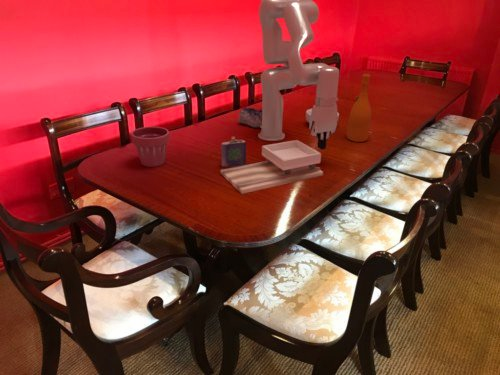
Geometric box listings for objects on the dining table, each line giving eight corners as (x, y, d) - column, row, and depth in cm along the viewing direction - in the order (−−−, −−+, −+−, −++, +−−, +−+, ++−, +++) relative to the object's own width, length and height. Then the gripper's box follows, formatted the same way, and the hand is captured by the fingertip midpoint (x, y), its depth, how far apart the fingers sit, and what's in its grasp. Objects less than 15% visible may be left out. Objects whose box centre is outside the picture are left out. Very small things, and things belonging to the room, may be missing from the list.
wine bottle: (364, 135, 185) (374, 71, 172) (370, 142, 177) (381, 76, 163) (344, 135, 185) (352, 71, 171) (349, 142, 176) (358, 76, 163)
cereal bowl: (337, 132, 190) (339, 118, 186) (303, 129, 193) (304, 115, 189) (337, 122, 204) (339, 109, 201) (306, 119, 207) (307, 106, 204)
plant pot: (178, 160, 156) (176, 130, 150) (154, 172, 145) (150, 140, 139) (152, 153, 162) (149, 124, 156) (127, 164, 151) (122, 133, 146)
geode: (279, 126, 198) (279, 107, 192) (267, 134, 190) (266, 116, 184) (247, 117, 208) (246, 99, 202) (234, 125, 200) (233, 107, 194)
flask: (222, 167, 150) (222, 139, 145) (220, 164, 152) (220, 137, 147) (246, 164, 153) (247, 137, 147) (244, 161, 155) (244, 134, 150)
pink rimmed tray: (261, 160, 150) (262, 146, 147) (296, 154, 156) (297, 139, 154) (283, 176, 137) (284, 160, 134) (319, 168, 144) (321, 153, 141)
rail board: (220, 173, 145) (220, 168, 144) (296, 158, 159) (296, 153, 158) (241, 193, 131) (241, 187, 130) (322, 175, 145) (323, 169, 144)
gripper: (335, 97, 148) (330, 142, 156) (303, 101, 142) (300, 148, 150) (348, 101, 142) (342, 148, 150) (315, 106, 136) (311, 154, 144)
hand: (321, 148), depth 150 cm, fingers closed
